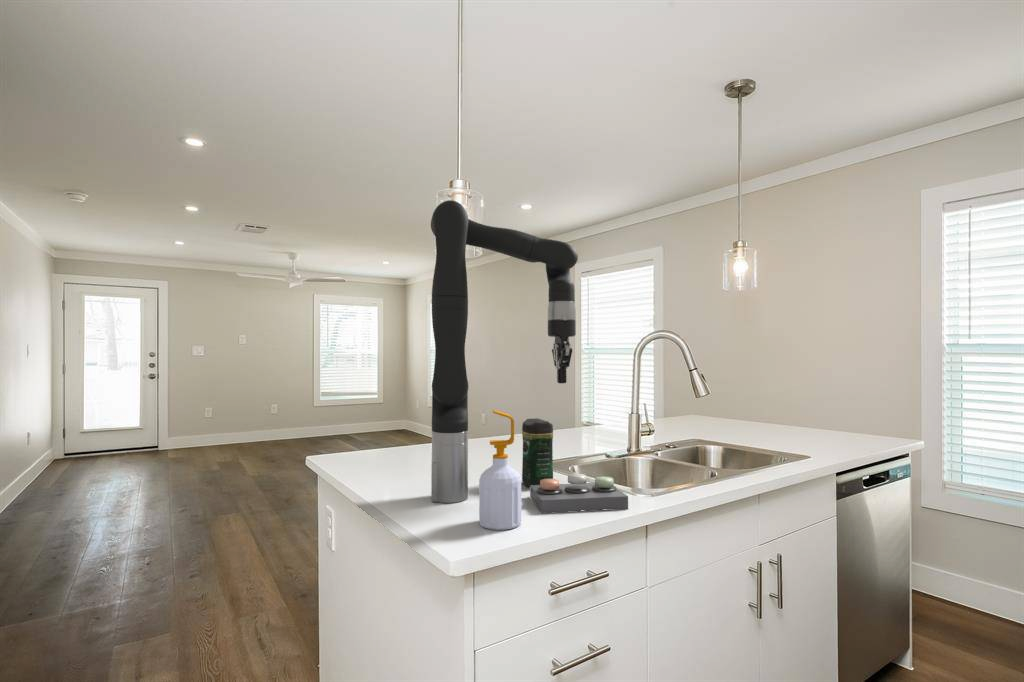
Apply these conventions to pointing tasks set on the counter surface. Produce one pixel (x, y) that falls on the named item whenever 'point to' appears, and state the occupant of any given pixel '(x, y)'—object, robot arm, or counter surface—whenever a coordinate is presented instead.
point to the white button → (577, 478)
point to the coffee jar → (537, 451)
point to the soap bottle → (500, 489)
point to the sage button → (604, 482)
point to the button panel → (578, 498)
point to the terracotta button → (549, 484)
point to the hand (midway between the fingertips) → (561, 383)
